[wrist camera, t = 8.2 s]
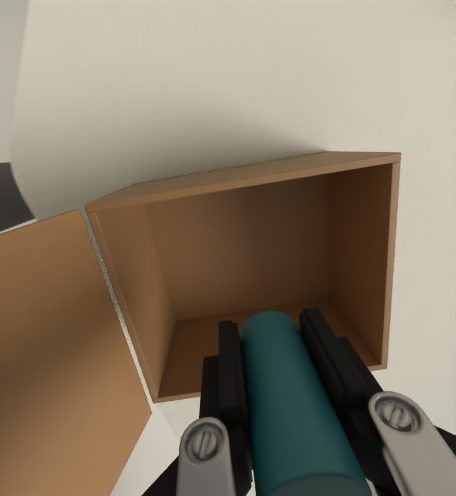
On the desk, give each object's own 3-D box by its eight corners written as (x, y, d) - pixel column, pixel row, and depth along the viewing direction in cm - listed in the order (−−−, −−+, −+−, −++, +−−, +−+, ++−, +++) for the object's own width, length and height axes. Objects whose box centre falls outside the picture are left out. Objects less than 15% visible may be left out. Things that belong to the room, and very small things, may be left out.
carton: (173, 323, 25) (153, 403, 17) (135, 183, 20) (83, 205, 12) (332, 298, 24) (387, 368, 17) (329, 151, 20) (401, 152, 12)
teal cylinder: (243, 363, 12) (265, 549, 6) (234, 315, 11) (251, 483, 6) (300, 355, 12) (372, 535, 6) (296, 305, 11) (376, 465, 6)
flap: (152, 412, 16) (147, 412, 16) (79, 208, 12) (74, 209, 12) (57, 598, 10) (51, 595, 10) (-183, 296, 5) (-191, 296, 5)
